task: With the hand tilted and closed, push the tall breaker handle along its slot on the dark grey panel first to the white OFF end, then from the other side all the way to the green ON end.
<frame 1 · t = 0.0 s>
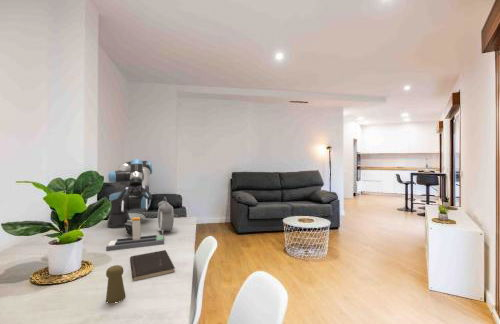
hand: (134, 210, 157), 15 cm above the table, tool tilted 35°, fingers open, 13 cm apart
electrical switch: (133, 235, 157), on the table
panel: (136, 244, 141), on the table
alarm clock: (165, 231, 164), on the table
breaker handle: (136, 229, 141), point 8 cm above the table, slide at 0.0 cm
cork: (115, 299, 88), on the table
hardcover book: (151, 267, 114), on the table
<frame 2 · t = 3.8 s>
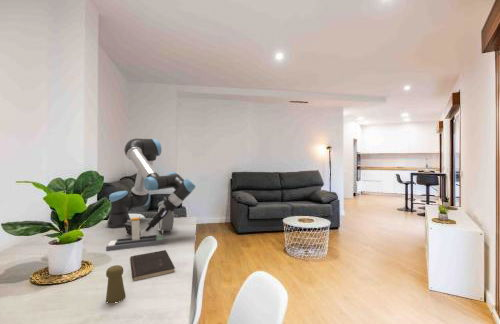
hand: (141, 234, 142), 5 cm above the table, tool tilted 45°, fingers closed
breaker handle: (135, 229, 141), point 8 cm above the table, slide at -0.3 cm, touching gripper
everything else where it was.
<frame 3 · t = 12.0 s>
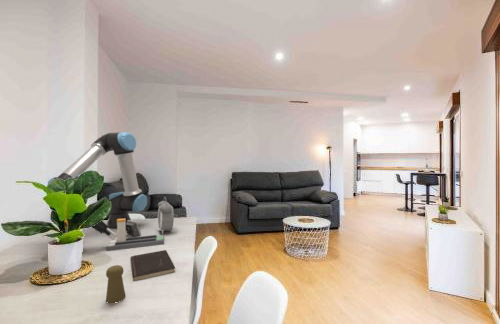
hand: (115, 237, 138), 5 cm above the table, tool tilted 45°, fingers closed
breaker handle: (121, 230, 139), point 8 cm above the table, slide at -7.4 cm, touching gripper
everything else where it was.
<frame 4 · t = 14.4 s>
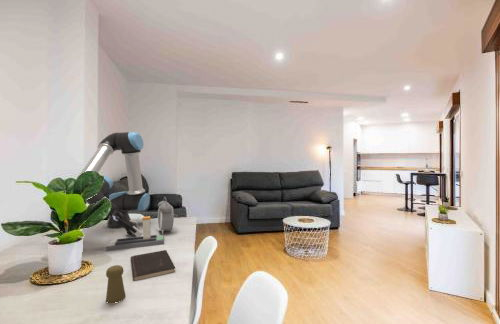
hand: (140, 235, 141), 5 cm above the table, tool tilted 45°, fingers closed
breaker handle: (146, 228, 143), point 8 cm above the table, slide at 5.2 cm, touching gripper
everything else where it was.
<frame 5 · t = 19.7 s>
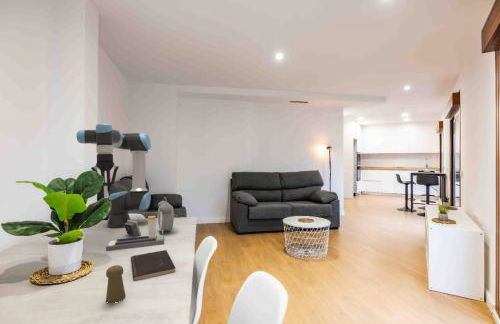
hand: (106, 198, 136), 26 cm above the table, tool pointing down, fingers closed
breaker handle: (152, 227, 143), point 8 cm above the table, slide at 8.0 cm
everything else where it was.
at the end: breaker handle slide at 8.0 cm; the gripper is holding nothing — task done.
